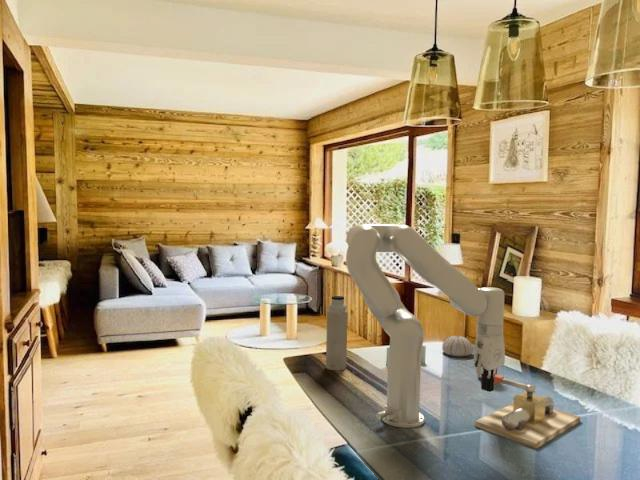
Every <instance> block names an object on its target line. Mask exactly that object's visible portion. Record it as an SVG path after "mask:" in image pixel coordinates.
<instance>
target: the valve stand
mask: <svg viewBox="0 0 640 480" xmlns="http://www.w3.org/2000/svg"><path fill="white" fill-rule="evenodd" d="M554 407H555V401H554V399H553V398H551V397H550V396H548V395H545V396H539V395H536V394H534V393H530V392H526V391H523V392H521V393H519V394H516V395H514V396H513V403H511V404H508V405H507V406H504V407H503V408H500V409H498V410H496V411H494V412H491V413H490V414H487V415H485V416H483V417H481V418H479V419H475V421H474V426H475V427H476V428H479V429H482V430H484V431H486V432H487V431H488V432H490V433H493V434H496V435H497V436H501V437H503V438H506V439H509V440H511V441H514V442H515V443H516V442H517V443H519V444H522V445H525V446H528V447H530V448H533V449H536V450H537V449H538V448H540V447H541V446H543V445H544V444H546V443H548V442H550V441H551V440H553V439H555V438H556V437H557V436H559V435H561V434H562V433H564V432H566V431H567V430H569V429H570V428H571V429H572V427H575V425H577V424H579V423H580V422H581V416H580V415H577V414H573V413H570V412H566V411H563V410H559V409H556V408H554Z"/></svg>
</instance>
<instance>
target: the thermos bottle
mask: <svg viewBox="0 0 640 480" xmlns="http://www.w3.org/2000/svg"><path fill="white" fill-rule="evenodd" d="M348 313H349V311H348V310H347V305H346V304H345V297H344V296H342V295H341V296H340V295H333V296H331V302H330V304H328V309H327V310H326V340H325V341H326V344H325V345H326V346H325V348H326V350H325V352H326V353H325V368H326V369H327V370H330V371H343V370H346V369H347V355H348V351H347V346H348V344H347V342H348V318H349V317H348V315H349V314H348Z"/></svg>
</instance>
